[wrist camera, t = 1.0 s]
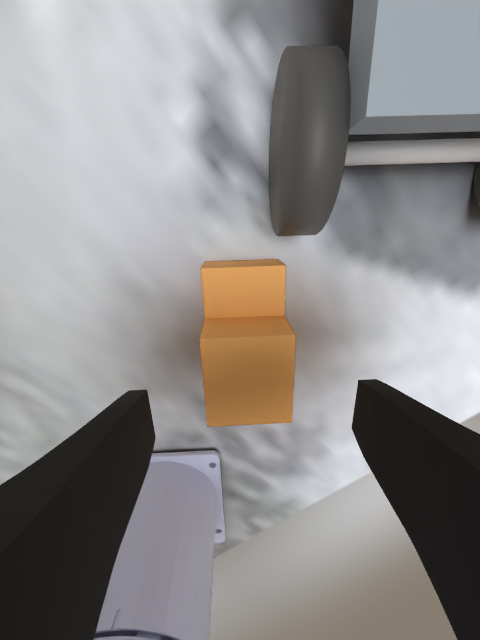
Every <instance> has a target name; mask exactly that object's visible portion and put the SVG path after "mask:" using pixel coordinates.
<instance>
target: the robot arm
mask: <svg viewBox="0 0 480 640" xmlns="http://www.w3.org/2000/svg"><path fill="white" fill-rule="evenodd" d="M352 430H353V432H354V435H355V437H356V440H357V442H358V445H359V447H360V449H361V452H362V454H363V456H364V458H365V460H366V462H367V464H368V465H369V467H370V469H371V471H372V472H373V474H374V475H375V478H376V479H377V481H378V483H379V485H380V486H381V488H382V490H383V492H384V493H385V495H386V497H387V499H388V500H389V502H390V504H391V505H392V507H393V509H394V511H395V512H396V514H397V516H398V518H399V519H400V521H401V523H402V525H403V526H404V528H405V530H406V532H407V533H408V535H409V537H410V539H411V541H412V543H413V545H414V547H415V549H416V550H417V552H418V555H419V557H420V559H421V561H422V563H423V565H424V567H425V570H426V571H427V573H428V576H429V578H430V580H431V582H432V584H433V586H434V589H435V591H436V593H437V595H438V597H439V599H440V602H441V604H442V606H443V608H444V610H445V613H446V615H447V617H448V619H449V622H450V624H451V626H452V628H453V631H454V633H455V635H456V637H457V640H480V434H478V433H476V432H474V431H472V430H470V429H468V428H466V427H464V426H462V425H460V424H458V423H457V422H455V421H453V420H451V419H449V418H447V417H445V416H443V415H442V414H440V413H438V412H436V411H434V410H432V409H431V408H429V407H427V406H425V405H423V404H422V403H420V402H418V401H416V400H414V399H413V398H411V397H409V396H407V395H405V394H404V393H402V392H400V391H398V390H396V389H395V388H393V387H391V386H389V385H387V384H385V383H383V382H381V381H379V380H377V379H371V380H358V387H357V394H356V401H355V408H354V415H353V423H352ZM155 438H156V437H155V432H154V426H153V420H152V415H151V409H150V404H149V398H148V392H147V390H131V391H128V392H126V393H125V394H123V395H122V396H121V397H120V398H118V399H117V400H116V401H114V402H113V403H112V404H111V405H109V406H108V407H107V408H106V409H105V410H103V411H102V412H101V413H100V414H98V415H97V416H96V417H95V418H93V419H92V420H91V421H89V422H88V423H87V424H86V425H84V426H83V427H82V428H81V429H79V430H78V431H77V432H76V433H74V434H73V435H72V436H70V437H69V438H67V439H66V440H65V441H63V442H62V443H61V444H59V445H58V446H57V447H55V448H54V449H53V450H51V451H50V452H48V453H47V454H46V455H44V456H43V457H42V458H40V459H39V460H37V461H36V462H35V463H33V464H32V465H30V466H29V467H27V468H26V469H24V470H23V471H21V472H20V473H18V474H17V475H15V476H14V477H12V478H11V479H9V480H8V481H6V482H4V483H3V484H1V485H0V640H209V637H210V617H211V596H212V577H213V558H214V543H222V542H224V541H225V523H224V510H223V497H222V483H221V470H220V457H219V453H218V452H216V451H213V450H210V451H190V452H171V453H152V452H153V447H154V443H155ZM212 462H213V463H212Z"/></svg>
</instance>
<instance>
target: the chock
mask: <svg viewBox="0 0 480 640" xmlns="http://www.w3.org/2000/svg"><path fill="white" fill-rule="evenodd" d="M285 274H286V265H285V264H283V263H282V262H281V261H279V260H278V259H264V260H237V261H210V262H205V263H204V264H203V266H202V267H201V278H202V290H203V303H204V315H205V320H204V324H203V327H202V331H201V335H200V339H199V340H200V351H201V362H202V373H203V384H204V395H205V406H206V417H207V427H212V426H232V425H252V424H272V423H292V412H293V389H294V366H295V343H296V334H295V333H294V331H293V329H292V328H291V326H290V324H289V322H288V321H287V319H286V317H285V316H284V311H285Z"/></svg>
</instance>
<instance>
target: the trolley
mask: <svg viewBox="0 0 480 640" xmlns="http://www.w3.org/2000/svg"><path fill="white" fill-rule="evenodd" d="M475 131H480V0H354V4H353V16H352V28H351V39H350V51H349V63H347V59H346V56H345V53H344V52H343V50H342V48H341V47H339V46H335V45H333V46H287V47H286V48H285V50H284V51H283V54H282V57H281V60H280V63H279V68H278V72H277V78H276V83H275V90H274V98H273V106H272V116H271V129H270V147H269V196H270V210H271V218H272V224H273V228H274V231H275V233H276V235H277V236H295V235H316V234H318V233H319V232H320V231H321V230H322V229H323V227H324V226H325V224H326V222H327V221H328V219H329V217H330V214H331V212H332V209H333V207H334V204H335V201H336V198H337V194H338V191H339V187H340V183H341V179H342V175H343V169H344V166H351V165H384V164H418V163H451V162H477V163H476V168H475V173H474V192H475V197H476V201H477V203H478V206H479V208H480V138H465V139H429V140H393V141H357V142H348V137H349V135H365V134H402V133H438V132H475Z"/></svg>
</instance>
